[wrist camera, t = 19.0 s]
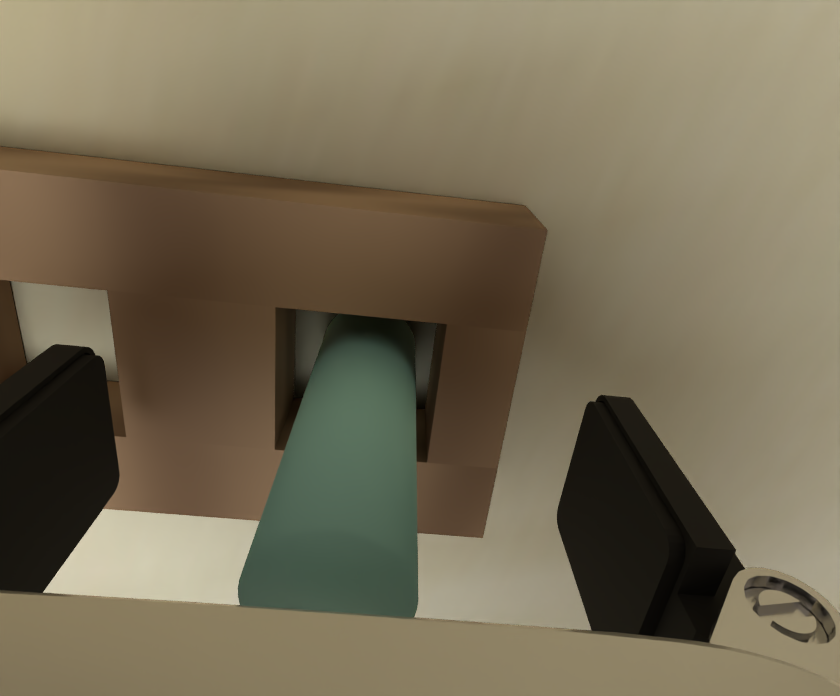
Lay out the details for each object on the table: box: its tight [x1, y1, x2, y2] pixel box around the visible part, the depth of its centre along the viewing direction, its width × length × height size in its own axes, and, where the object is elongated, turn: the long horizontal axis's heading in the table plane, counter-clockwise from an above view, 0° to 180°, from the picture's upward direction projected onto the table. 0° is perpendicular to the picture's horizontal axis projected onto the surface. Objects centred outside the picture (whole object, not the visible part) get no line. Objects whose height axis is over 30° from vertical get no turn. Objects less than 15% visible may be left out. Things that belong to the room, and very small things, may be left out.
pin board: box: [0, 146, 547, 538], centre depth 13 cm, size 14×8×2 cm, turn 84°
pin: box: [238, 314, 418, 617], centre depth 11 cm, size 2×2×8 cm
